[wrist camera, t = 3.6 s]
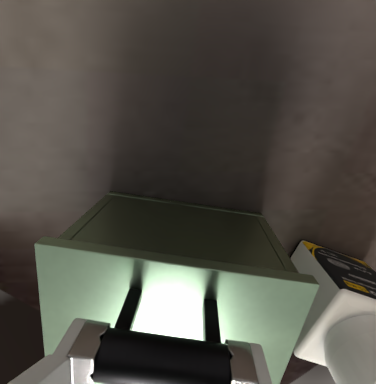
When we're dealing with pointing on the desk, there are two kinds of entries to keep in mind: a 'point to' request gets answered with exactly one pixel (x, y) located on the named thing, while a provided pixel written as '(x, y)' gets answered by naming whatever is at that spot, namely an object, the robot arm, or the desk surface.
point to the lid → (169, 310)
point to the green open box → (181, 231)
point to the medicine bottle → (339, 315)
